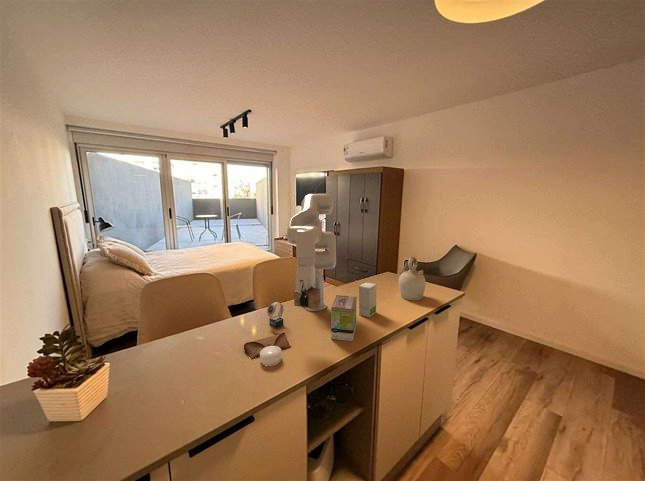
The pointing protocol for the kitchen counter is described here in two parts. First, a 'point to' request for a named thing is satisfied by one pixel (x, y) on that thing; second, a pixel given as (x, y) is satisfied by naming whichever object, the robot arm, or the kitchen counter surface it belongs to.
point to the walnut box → (312, 296)
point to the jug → (412, 282)
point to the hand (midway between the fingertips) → (307, 302)
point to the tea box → (343, 318)
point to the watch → (275, 320)
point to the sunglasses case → (266, 344)
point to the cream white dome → (270, 355)
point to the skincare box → (367, 299)
